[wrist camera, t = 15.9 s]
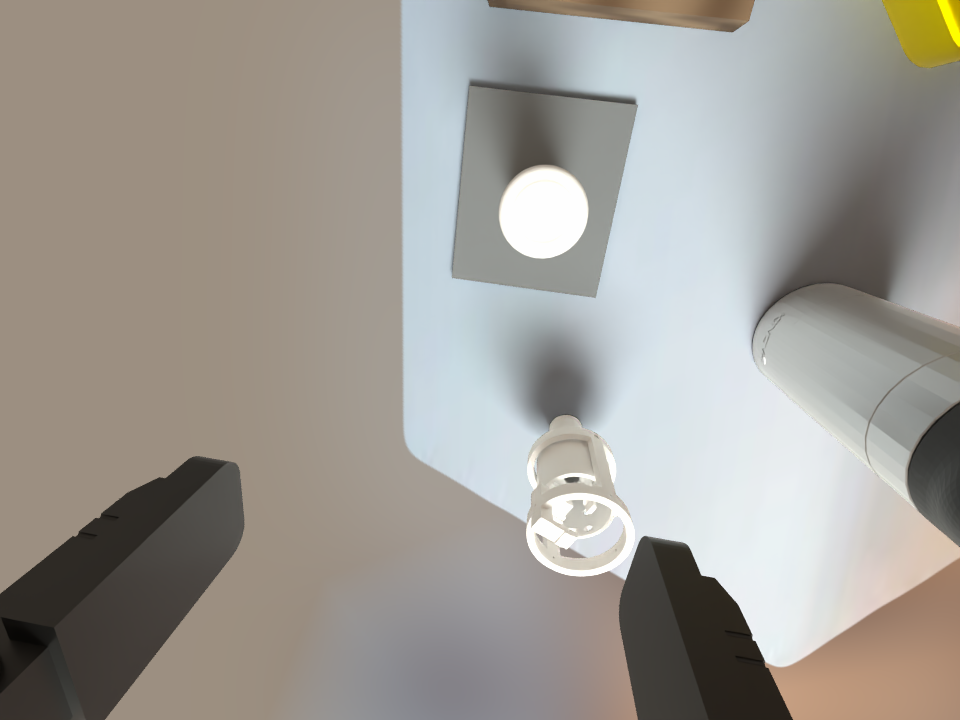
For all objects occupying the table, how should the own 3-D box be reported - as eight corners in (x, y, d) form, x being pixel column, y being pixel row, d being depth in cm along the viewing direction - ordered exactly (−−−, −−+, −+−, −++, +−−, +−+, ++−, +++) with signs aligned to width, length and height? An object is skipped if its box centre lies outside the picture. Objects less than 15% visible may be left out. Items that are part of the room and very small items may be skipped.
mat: (636, 106, 33) (637, 105, 32) (594, 295, 38) (595, 297, 38) (470, 87, 33) (469, 85, 33) (453, 276, 39) (451, 277, 38)
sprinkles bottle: (498, 212, 36) (481, 234, 23) (527, 155, 34) (524, 146, 22) (550, 240, 36) (560, 275, 24) (580, 185, 34) (608, 192, 22)
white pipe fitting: (555, 382, 41) (567, 486, 28) (619, 420, 42) (661, 540, 28) (514, 437, 44) (506, 558, 30) (574, 472, 45) (593, 605, 31)
